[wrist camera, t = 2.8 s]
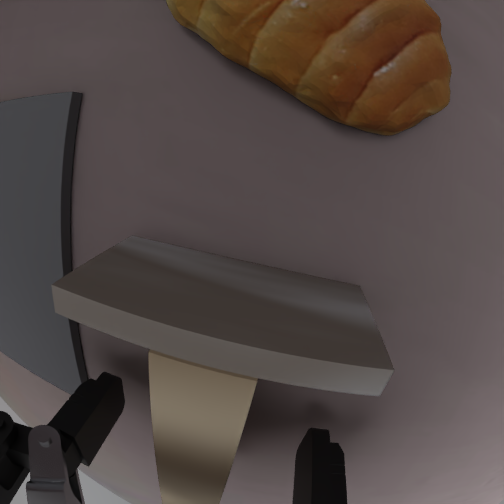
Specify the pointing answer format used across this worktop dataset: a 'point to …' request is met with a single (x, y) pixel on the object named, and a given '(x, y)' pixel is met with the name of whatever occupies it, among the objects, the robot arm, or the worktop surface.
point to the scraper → (221, 345)
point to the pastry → (335, 54)
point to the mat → (38, 235)
